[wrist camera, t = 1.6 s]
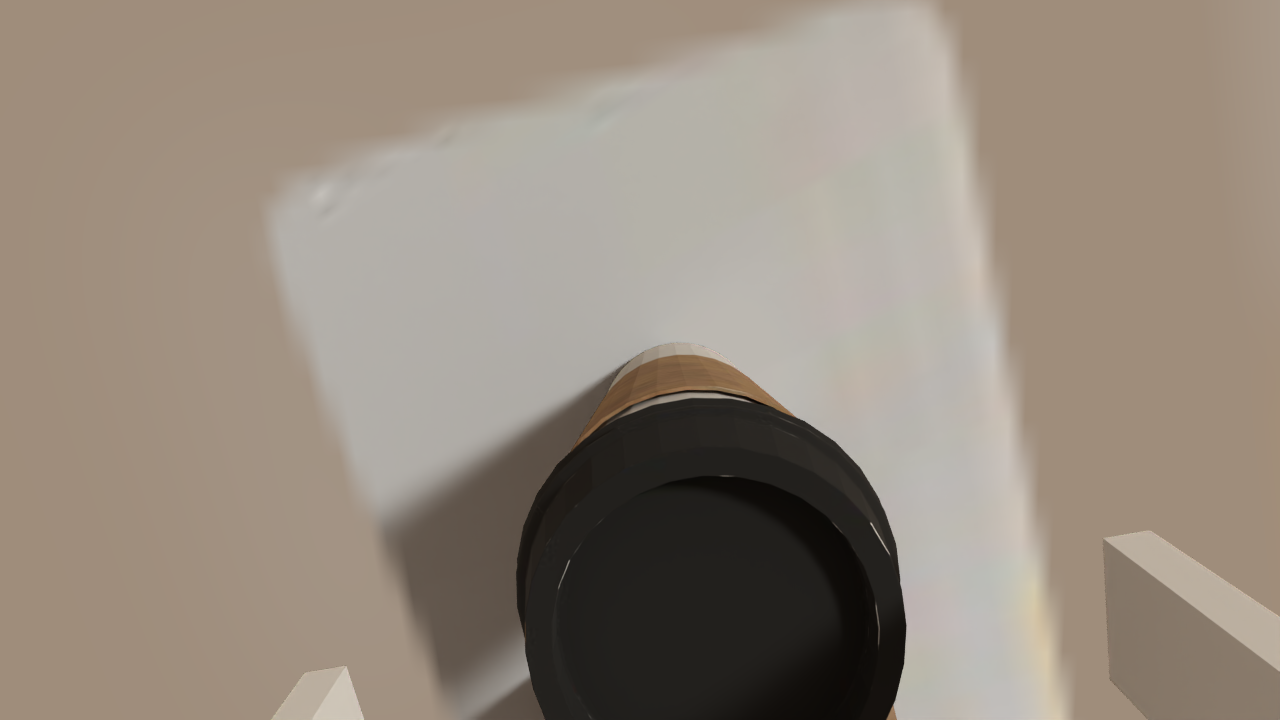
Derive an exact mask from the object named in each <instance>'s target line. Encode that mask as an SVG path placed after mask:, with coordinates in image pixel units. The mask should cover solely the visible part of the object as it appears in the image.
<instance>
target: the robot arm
mask: <svg viewBox="0 0 1280 720" xmlns="http://www.w3.org/2000/svg"><path fill="white" fill-rule="evenodd" d="M1103 553H1104V573H1105V593H1106V613H1107V632H1108V633H1107V634H1108V653H1109V674H1110V680H1111V681H1112V682H1113V684H1114V685H1115V686H1116V687H1117V688H1118V689H1119V690H1120V691H1121V692H1122V693H1123V694H1124V695H1125V696H1126V697H1127V698H1128V699H1129V700H1130V701H1131V702H1132V703H1133V705H1134V706H1135V707H1136V708H1137V709H1138V710H1139V711H1140V712H1141V713H1142V714H1143V715H1144V716H1145V717H1146V718H1147V719H1148V720H1280V617H1279V616H1278V615H1276V614H1274V613H1273V612H1272V611H1270V610H1268V609H1267V608H1265V607H1264V606H1263V605H1261V604H1259V603H1258V602H1257V601H1255V600H1254V599H1252V598H1250V597H1249V596H1248V595H1246V594H1245V593H1243V592H1241V591H1240V590H1239V589H1237V588H1236V587H1234V586H1232V585H1231V584H1230V583H1228V582H1226V581H1225V580H1224V579H1222V578H1220V577H1219V576H1218V575H1216V574H1215V573H1213V572H1212V571H1210V570H1208V569H1207V568H1205V567H1204V566H1203V565H1201V564H1200V563H1198V562H1197V561H1195V560H1193V559H1192V558H1191V557H1189V556H1188V555H1186V554H1184V553H1183V552H1182V551H1180V550H1178V549H1177V548H1176V547H1174V546H1173V545H1171V544H1169V543H1168V542H1167V541H1165V540H1164V539H1162V538H1161V537H1159V536H1158V535H1156V534H1155V533H1153V532H1151V531H1150V530H1148V531H1142V532H1136V533H1131V534H1125V535H1119V536H1113V537H1107V538H1103ZM271 720H364V717H363V714H362V711H361V708H360V705H359V702H358V699H357V696H356V693H355V690H354V687H353V684H352V681H351V678H350V675H349V672H348V669H347V666H340V667H334V668H328V669H323V670H316V671H311V672H305V673H304V674H303V676H302V677H301V679H300V680H299V681H298V683H297V684H296V685H295V687H294V688H293V690H292V691H291V692H290V694H289V695H288V697H287V698H286V699H285V701H284V702H283V704H282V705H281V706H280V708H279V709H278V710H277V712H276V713H275V715H274V716H273V717H272V719H271Z"/></svg>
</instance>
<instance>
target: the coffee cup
mask: <svg viewBox="0 0 1280 720" xmlns="http://www.w3.org/2000/svg"><path fill="white" fill-rule="evenodd" d="M516 581H517V608H518V612H519V616H520V621H521V625H522V629H523V633H524V637H525V653H526V657H527V662H528V667H529V671H530V676H531V681H532V685H533V690H534V692H535V695H536V697H537V700H538V702H539V705H540V707H541V709H542V712H543V714H544V717H545V719H546V720H887V718H888V716H889V713H890V711H891V709H892V706H893V704H894V702H895V699H896V695H897V691H898V687H899V683H900V678H901V674H902V670H903V666H904V656H905V640H906V619H905V611H904V604H903V596H902V589H901V586H900V574H899V565H898V556H897V548H896V543H895V540H894V537H893V534H892V531H891V528H890V525H889V522H888V519H887V516H886V514H885V511H884V509H883V507H882V505H881V503H880V500H879V498H878V496H877V494H876V493H875V491H874V490H873V488H872V486H871V485H870V483H869V481H868V480H867V478H866V477H865V475H864V473H863V472H862V470H861V468H860V467H859V466H858V465H857V464H856V463H855V462H854V461H853V460H852V459H851V458H850V457H849V456H848V455H847V454H846V453H845V452H844V451H843V450H842V449H841V447H840V446H839V445H838V444H837V443H836V442H834V441H833V440H831V439H830V438H829V437H827V436H826V435H824V434H823V433H821V432H820V431H818V430H817V429H815V428H814V427H812V426H811V425H809V424H808V423H806V422H805V421H803V420H800V419H798V418H796V417H795V416H794V415H793V414H791V413H790V412H789V411H788V410H787V409H785V408H784V407H783V406H782V405H781V404H780V403H778V402H777V401H776V400H775V399H774V398H772V397H771V396H770V395H769V394H768V393H766V392H765V391H764V390H763V389H762V388H760V387H759V386H758V385H757V384H756V383H754V382H753V381H752V380H751V379H750V378H748V377H747V376H746V375H744V374H743V373H742V372H741V371H740V370H739V369H738V368H737V367H736V366H735V365H734V364H733V363H732V362H731V361H729V360H728V359H726V358H725V357H723V356H722V355H720V354H719V353H717V352H715V351H713V350H711V349H708V348H706V347H704V346H699V345H695V344H690V343H671V344H665V345H660V346H657V347H654V348H652V349H649V350H647V351H645V352H643V353H641V354H640V355H638V356H637V357H635V358H633V359H632V360H631V361H630V362H629V363H628V364H627V365H626V366H625V367H624V368H623V369H622V370H621V371H620V372H619V374H618V375H617V377H616V378H615V380H614V381H613V383H612V385H611V386H610V388H609V390H608V393H607V395H606V396H605V398H604V399H603V400H602V402H601V403H600V405H599V407H598V408H597V410H596V411H595V413H594V415H593V416H592V418H591V420H590V421H589V423H588V424H587V426H586V428H585V429H584V431H583V432H582V434H581V436H580V437H579V439H578V440H577V442H576V444H575V445H574V447H573V448H572V450H571V452H570V453H569V454H568V455H567V456H566V457H565V458H564V459H563V460H562V461H560V462H559V463H558V464H557V466H556V467H555V469H554V470H553V472H552V473H551V474H550V476H549V477H548V479H547V480H546V482H545V483H544V485H543V486H542V487H541V489H540V490H539V492H538V493H537V495H536V498H535V500H534V502H533V505H532V507H531V510H530V512H529V514H528V517H527V519H526V521H525V524H524V527H523V532H522V537H521V542H520V548H519V553H518V558H517V571H516Z"/></svg>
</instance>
